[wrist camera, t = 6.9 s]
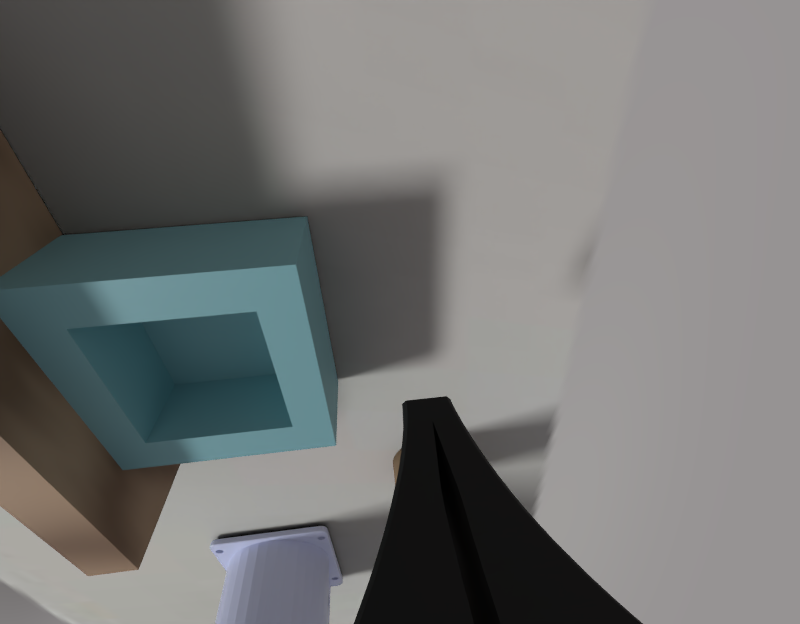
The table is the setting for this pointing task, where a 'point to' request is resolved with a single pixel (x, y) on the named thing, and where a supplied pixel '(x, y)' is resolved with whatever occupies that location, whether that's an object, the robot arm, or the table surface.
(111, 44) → the table surface
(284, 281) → the socket block
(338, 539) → the table surface
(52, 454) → the wall
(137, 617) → the table surface
